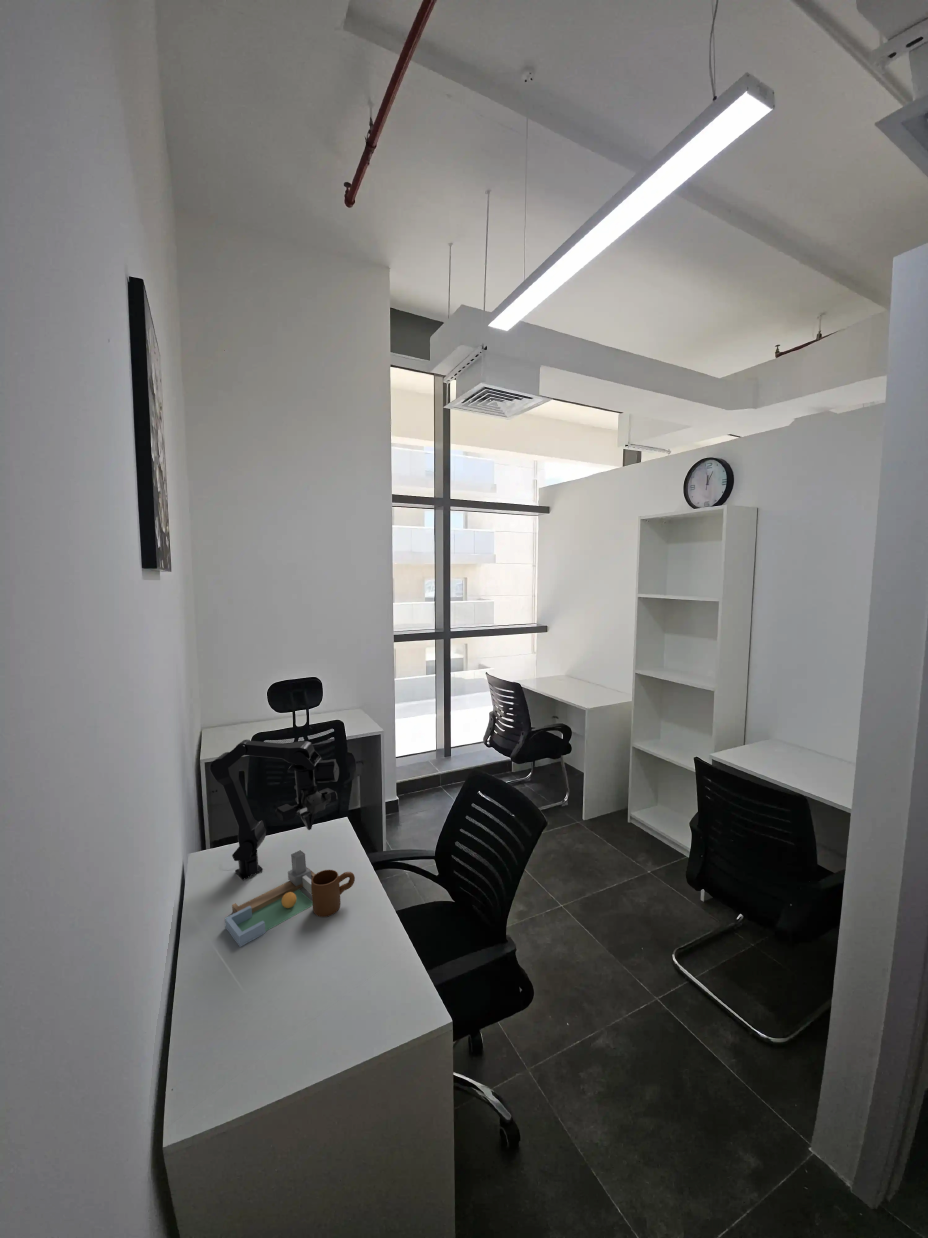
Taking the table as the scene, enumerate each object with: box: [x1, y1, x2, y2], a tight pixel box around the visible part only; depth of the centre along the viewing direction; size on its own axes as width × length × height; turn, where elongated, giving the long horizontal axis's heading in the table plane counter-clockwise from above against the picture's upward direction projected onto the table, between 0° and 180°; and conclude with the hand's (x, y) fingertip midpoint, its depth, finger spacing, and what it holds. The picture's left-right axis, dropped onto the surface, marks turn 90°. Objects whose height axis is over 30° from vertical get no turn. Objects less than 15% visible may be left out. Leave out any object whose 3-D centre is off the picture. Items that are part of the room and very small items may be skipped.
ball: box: [282, 892, 296, 908], centre depth 138 cm, size 4×4×4 cm
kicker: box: [287, 850, 312, 895], centre depth 145 cm, size 12×5×9 cm, turn 45°
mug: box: [311, 869, 356, 918], centre depth 137 cm, size 12×8×9 cm, turn 112°
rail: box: [231, 867, 316, 914], centre depth 143 cm, size 5×23×2 cm, turn 135°
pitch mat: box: [237, 889, 313, 932], centre depth 135 cm, size 10×21×1 cm, turn 135°
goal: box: [224, 906, 267, 948], centre depth 129 cm, size 10×7×3 cm, turn 45°
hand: (309, 829), depth 155 cm, fingers closed
